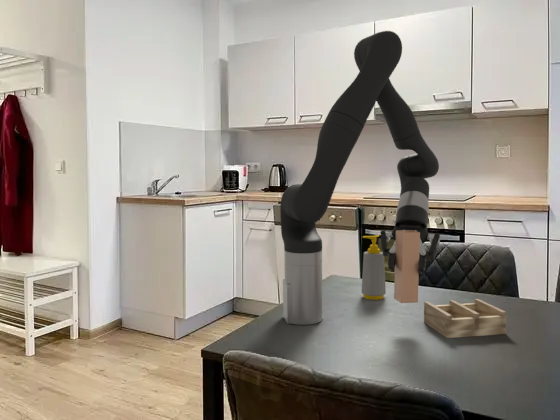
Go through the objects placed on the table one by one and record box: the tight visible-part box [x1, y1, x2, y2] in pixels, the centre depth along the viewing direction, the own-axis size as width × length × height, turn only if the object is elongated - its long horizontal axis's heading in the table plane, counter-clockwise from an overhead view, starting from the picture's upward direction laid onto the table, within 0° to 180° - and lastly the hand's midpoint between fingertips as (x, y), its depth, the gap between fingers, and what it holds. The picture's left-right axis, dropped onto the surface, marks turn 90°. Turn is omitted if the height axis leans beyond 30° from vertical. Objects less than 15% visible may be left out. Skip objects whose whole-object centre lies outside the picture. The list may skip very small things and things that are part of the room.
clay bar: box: [393, 230, 420, 304], centre depth 109 cm, size 4×4×16 cm
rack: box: [423, 298, 507, 339], centre depth 110 cm, size 14×11×5 cm
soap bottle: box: [361, 234, 387, 301], centre depth 136 cm, size 7×7×18 cm
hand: (406, 270), depth 107 cm, fingers closed on clay bar, 5 cm apart
